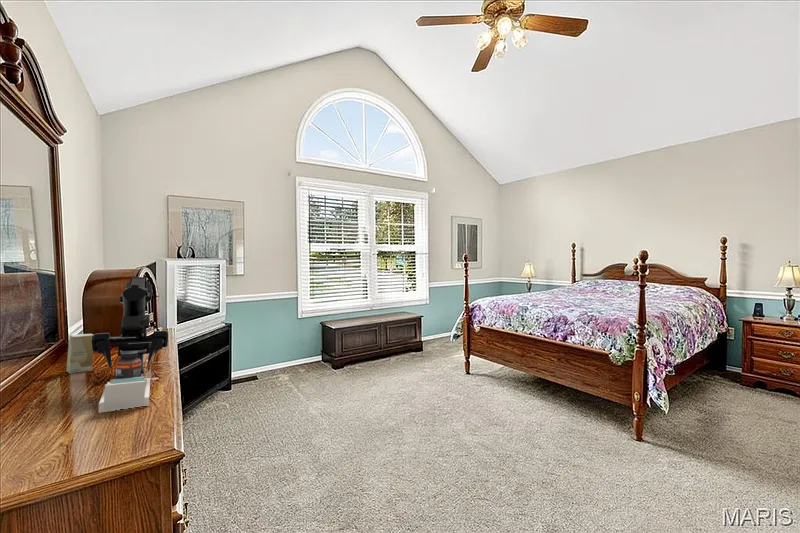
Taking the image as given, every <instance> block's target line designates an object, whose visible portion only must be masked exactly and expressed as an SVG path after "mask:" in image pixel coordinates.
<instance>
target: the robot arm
mask: <svg viewBox="0 0 800 533" xmlns="http://www.w3.org/2000/svg"><path fill="white" fill-rule="evenodd" d="M152 295H153V283H151V282H149V281H148V278H147V277H145V276H133V277H130V281H128V282H127V283H125V289H124V291H122V292H121V294H120V295H119V297H120V300H119V302H120V304H122V308H123V315H122V318H121V325H120V330H119V331H120V332H119V334H120V336H111V334H110V333H111V332H97V333H94V334H93V336H92V349H93V351H94V352H97V353H98V354H102V355H103V356H104V359H105V360H106V363H107V365H108V368H111V367H112V355H111V345H118V348H117V349H118V350H117V354H118V355H117V356H118V357H121V353H122V352H126V351H137V352H138V356H137V357H138V358H139V359H141V374H144V373H145V366H144V355H147V356H148V357H147V365H150V364H151V362H152V360H153V358H154V357H155V355H156V354H157V353H158V351H159V350H163V349H164V348H167V347H168V345H169V344H168V342H169V332H168V330H153V335H147V334H148V330H147V327H150V321H151V320H150V317H151V315H150V314H146V307H147V305H148V304H149V303H150V302H151V301H152Z"/></svg>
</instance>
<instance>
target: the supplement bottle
mask: <svg viewBox="0 0 800 533" xmlns="http://www.w3.org/2000/svg"><path fill="white" fill-rule="evenodd" d="M137 356H138V352H137V351H126V352H122V353H121V356H120V359H119V360H118V361H117V362H116V364H115V379H122V378H132V377H142V373H141V359H139V358H138V357H137Z"/></svg>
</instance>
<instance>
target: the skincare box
mask: <svg viewBox="0 0 800 533" xmlns="http://www.w3.org/2000/svg"><path fill="white" fill-rule="evenodd" d="M93 335H94V334H93V333H81V334H80V333H79V334H78V333H77V334H69V335H68V336H69V338H68V347H67V359H66V370H65V372H67V373H68V374H76V372H77V373H84V371H85V372H92V371H93V365H94V352H95V351H93V349H92V336H93Z"/></svg>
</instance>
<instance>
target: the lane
mask: <svg viewBox="0 0 800 533" xmlns="http://www.w3.org/2000/svg"><path fill="white" fill-rule="evenodd" d="M110 382H111V381H107V383H106V384H104V390H103V393H102V394H101V397H100V400H99V402H98V413H100V414H101V413H107V412H114V411H115V410H117V411H121V410H120V409H124V410H129V409H128V408H132V409H135V408H134V407H140V406H148V405H150V390H151V389H150V388H151V377H146V378H145V377H144V381H136V382H126V383H116V384H110ZM148 407H149V406H148ZM140 408H141V407H140Z"/></svg>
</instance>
